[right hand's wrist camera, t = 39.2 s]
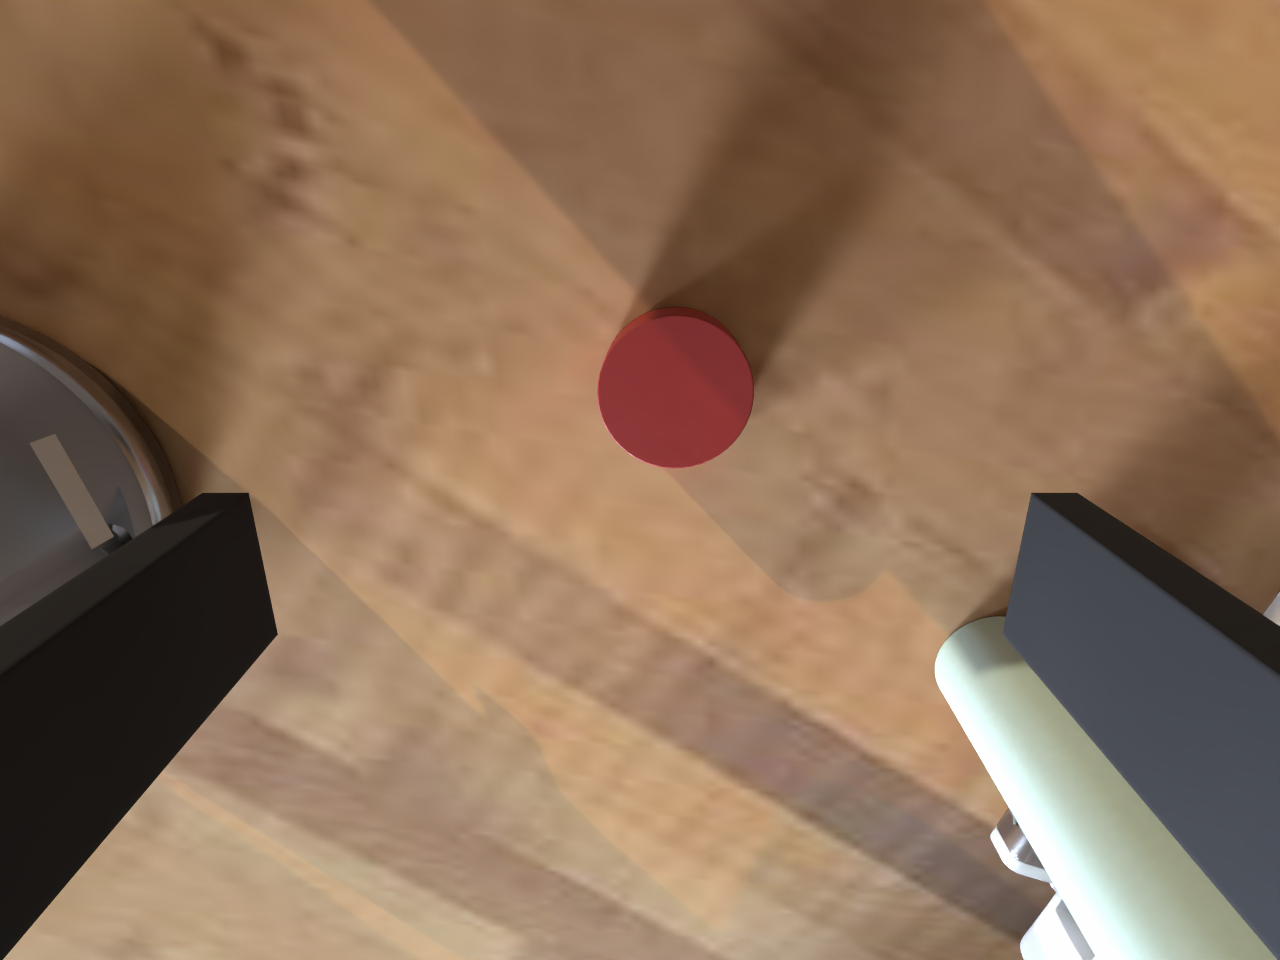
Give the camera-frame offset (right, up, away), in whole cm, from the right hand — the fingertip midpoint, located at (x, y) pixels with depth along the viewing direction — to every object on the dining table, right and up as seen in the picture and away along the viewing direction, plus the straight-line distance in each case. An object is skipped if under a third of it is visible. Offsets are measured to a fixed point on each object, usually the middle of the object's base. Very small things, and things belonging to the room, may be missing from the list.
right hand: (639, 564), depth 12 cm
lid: (+1, +5, +13) cm, 14 cm away
